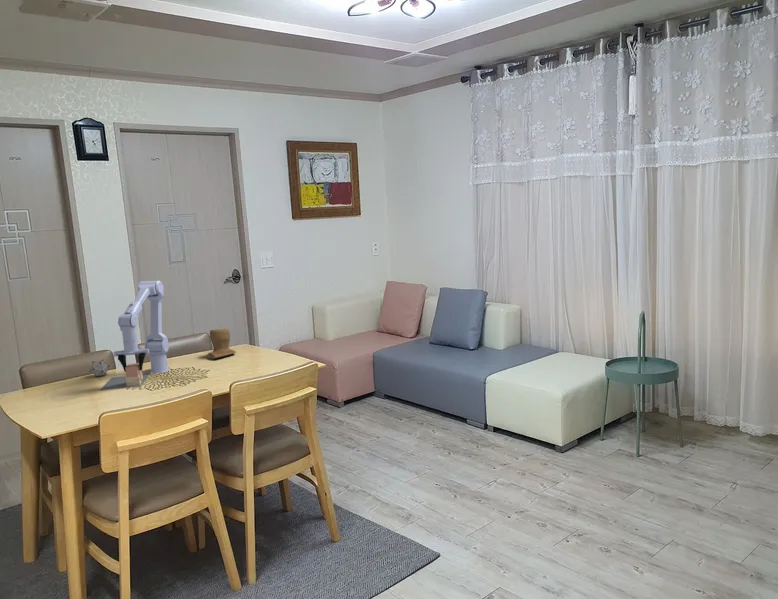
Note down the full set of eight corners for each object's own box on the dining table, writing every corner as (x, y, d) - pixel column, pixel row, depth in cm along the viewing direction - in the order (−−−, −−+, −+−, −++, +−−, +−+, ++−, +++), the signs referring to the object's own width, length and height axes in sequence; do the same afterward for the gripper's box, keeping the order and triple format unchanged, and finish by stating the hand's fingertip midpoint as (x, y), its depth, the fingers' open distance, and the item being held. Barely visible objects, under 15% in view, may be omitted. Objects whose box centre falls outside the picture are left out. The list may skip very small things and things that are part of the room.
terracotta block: (130, 373, 275) (128, 363, 274) (141, 372, 276) (140, 362, 275) (126, 377, 268) (125, 367, 268) (138, 376, 269) (136, 366, 268)
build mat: (111, 378, 286) (111, 377, 286) (150, 374, 289) (149, 374, 289) (99, 391, 264) (99, 390, 264) (140, 387, 268) (140, 386, 267)
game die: (96, 384, 290) (81, 370, 287) (108, 374, 297) (93, 359, 294) (106, 377, 285) (90, 362, 283) (117, 367, 292) (102, 352, 290)
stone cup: (225, 352, 330) (222, 325, 328) (239, 354, 323) (236, 326, 321) (201, 358, 318) (198, 330, 316) (215, 360, 311) (213, 332, 309)
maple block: (130, 382, 276) (129, 373, 275) (143, 380, 277) (142, 372, 276) (126, 386, 269) (125, 377, 268) (139, 385, 270) (139, 376, 269)
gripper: (110, 344, 265) (114, 374, 267) (145, 341, 267) (148, 371, 269) (114, 340, 272) (117, 370, 273) (148, 338, 274) (151, 367, 276)
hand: (133, 370), depth 272 cm, fingers open, 6 cm apart
